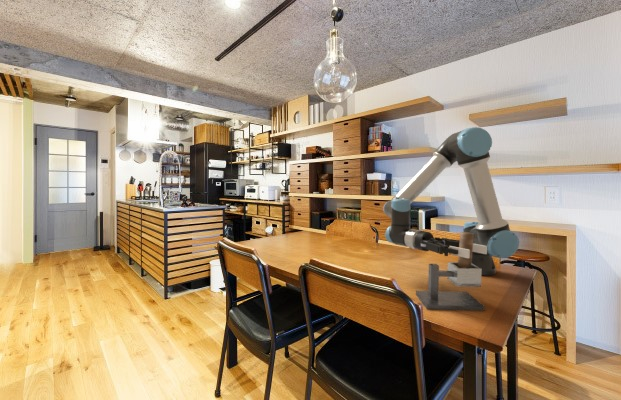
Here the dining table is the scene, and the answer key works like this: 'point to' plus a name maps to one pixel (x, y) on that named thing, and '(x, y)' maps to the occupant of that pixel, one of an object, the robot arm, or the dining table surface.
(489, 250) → the robot arm
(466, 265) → the walnut rail
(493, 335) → the dining table surface
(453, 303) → the cup bracket
